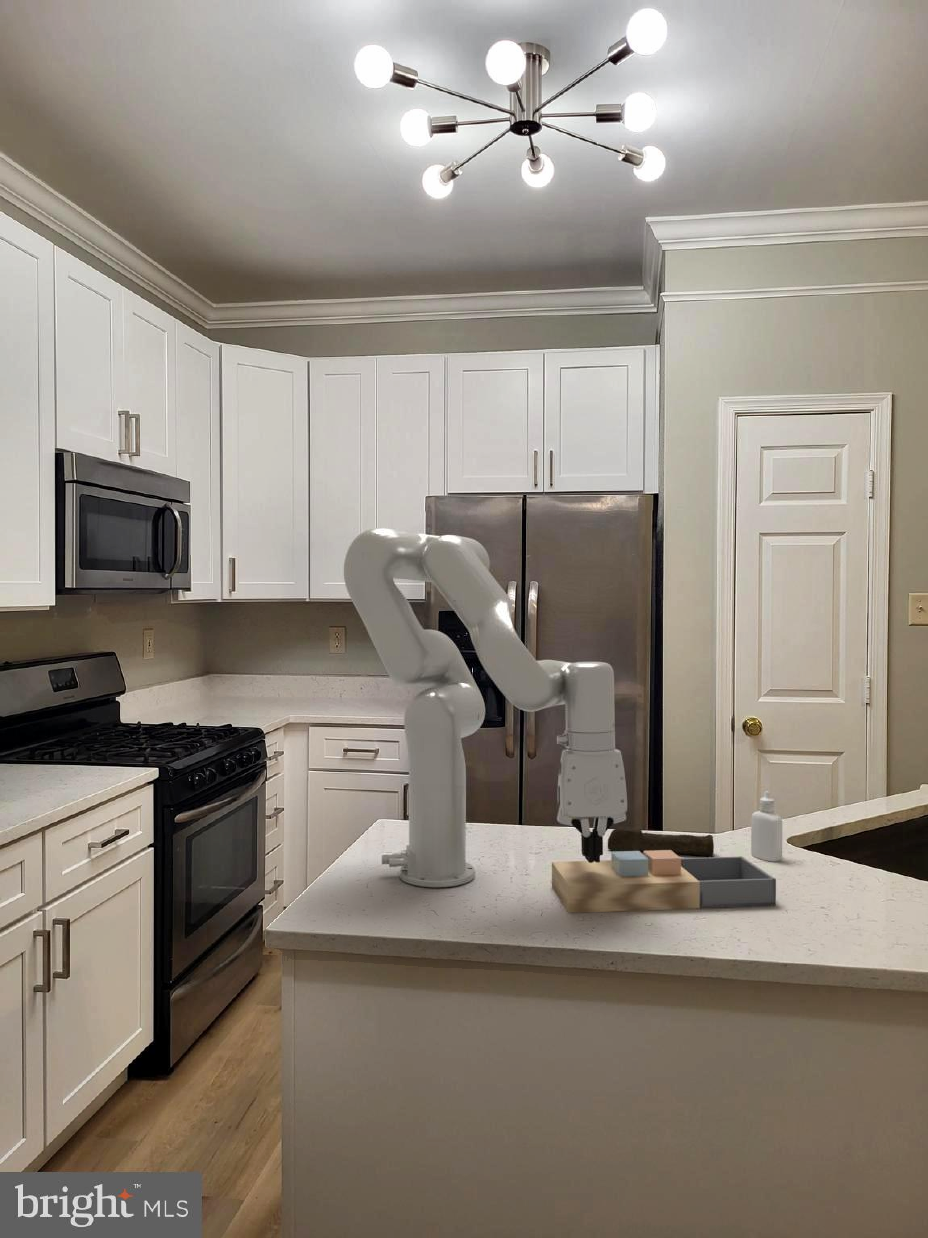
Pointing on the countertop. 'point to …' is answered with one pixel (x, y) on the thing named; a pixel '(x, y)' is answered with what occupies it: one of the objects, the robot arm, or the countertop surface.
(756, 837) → the eye dropper bottle
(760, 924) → the countertop surface
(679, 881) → the oak board
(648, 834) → the hand tool
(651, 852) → the terracotta tile
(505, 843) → the countertop surface
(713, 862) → the tray
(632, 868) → the pale blue tile
